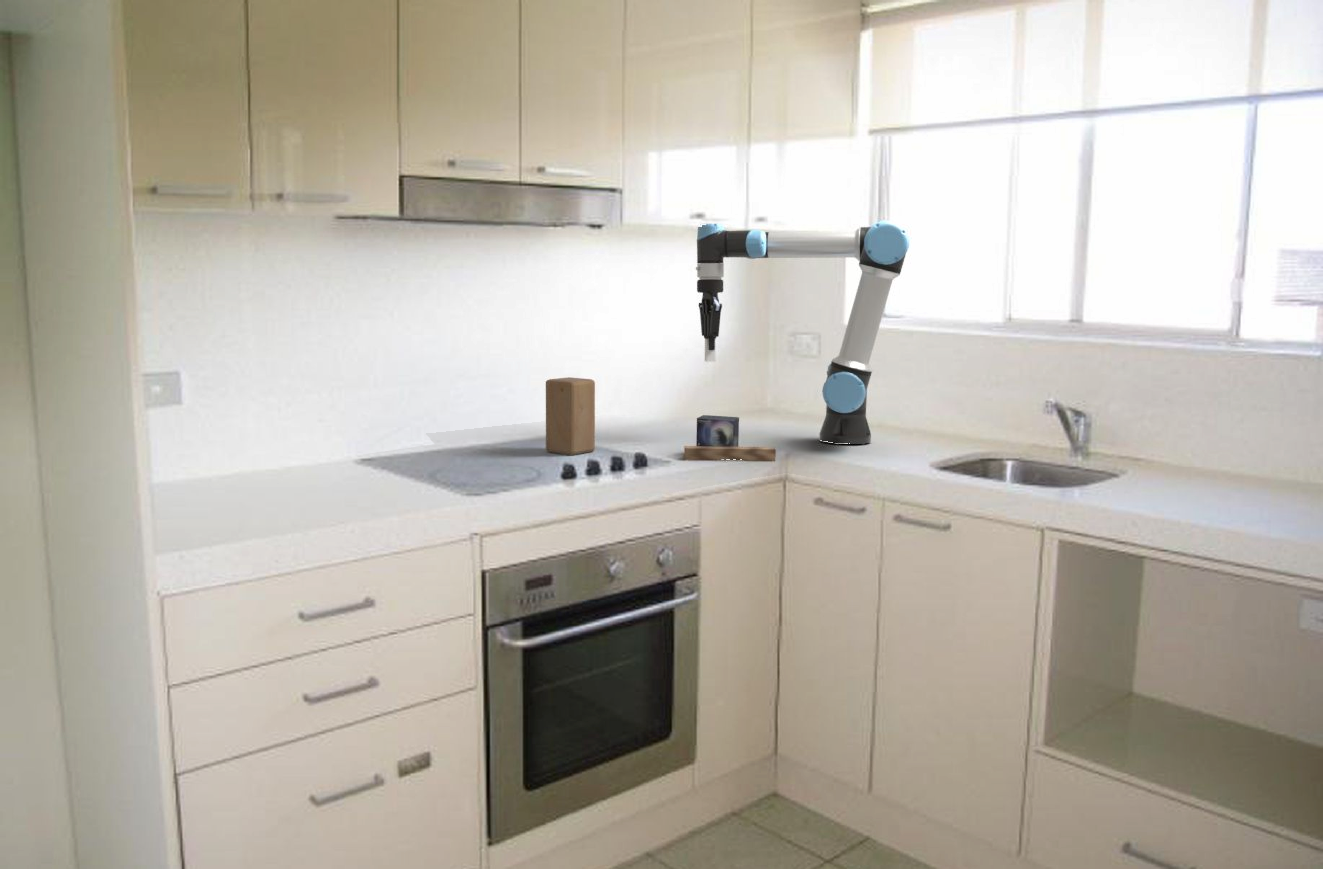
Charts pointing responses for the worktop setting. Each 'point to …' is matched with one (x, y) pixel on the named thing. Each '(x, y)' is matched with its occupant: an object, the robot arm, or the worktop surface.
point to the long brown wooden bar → (729, 453)
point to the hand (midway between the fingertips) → (710, 361)
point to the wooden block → (570, 416)
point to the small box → (717, 431)
